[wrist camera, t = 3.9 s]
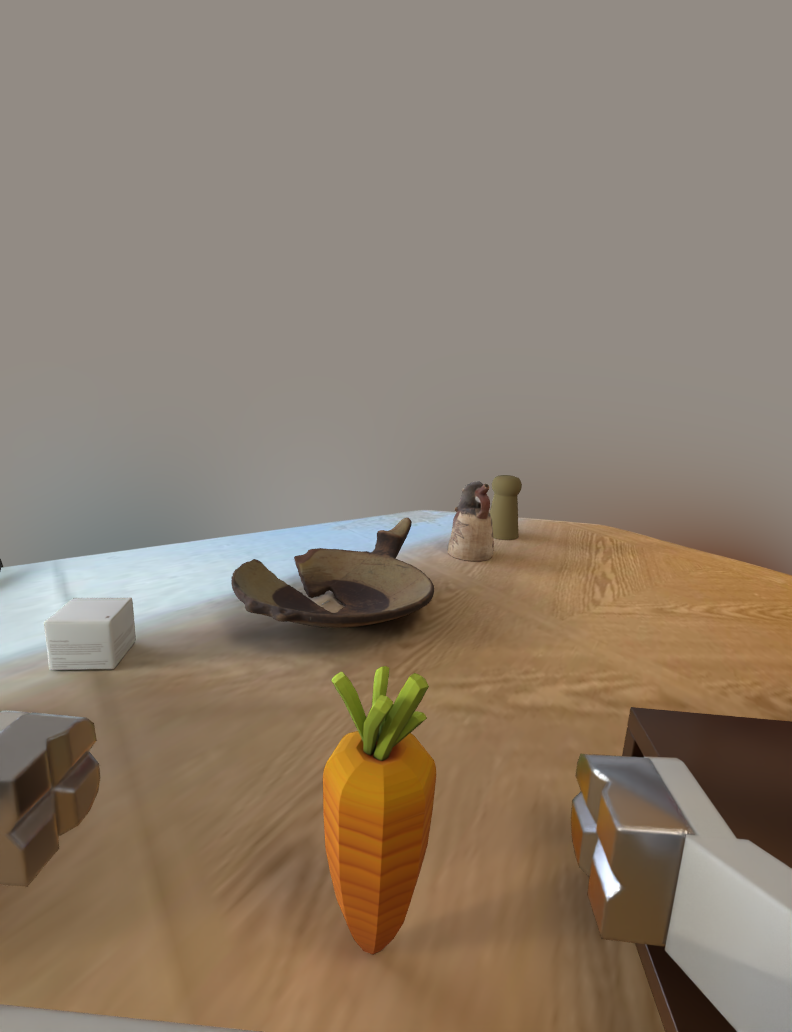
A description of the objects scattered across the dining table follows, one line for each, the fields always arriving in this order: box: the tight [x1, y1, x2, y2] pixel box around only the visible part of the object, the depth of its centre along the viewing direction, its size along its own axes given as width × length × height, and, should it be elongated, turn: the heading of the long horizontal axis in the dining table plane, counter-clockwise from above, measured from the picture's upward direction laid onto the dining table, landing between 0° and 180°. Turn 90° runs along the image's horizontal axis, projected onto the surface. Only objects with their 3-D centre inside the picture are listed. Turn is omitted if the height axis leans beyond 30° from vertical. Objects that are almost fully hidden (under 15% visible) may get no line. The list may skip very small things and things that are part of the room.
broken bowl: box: [232, 518, 434, 628], centre depth 62 cm, size 22×30×8 cm
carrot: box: [323, 666, 436, 954], centre depth 24 cm, size 5×5×15 cm
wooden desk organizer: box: [622, 707, 792, 1032], centre depth 23 cm, size 14×10×11 cm
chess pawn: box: [490, 475, 522, 540], centre depth 96 cm, size 6×6×11 cm
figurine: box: [448, 482, 494, 561], centre depth 84 cm, size 7×7×12 cm
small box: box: [44, 598, 136, 670], centre depth 50 cm, size 6×6×5 cm
